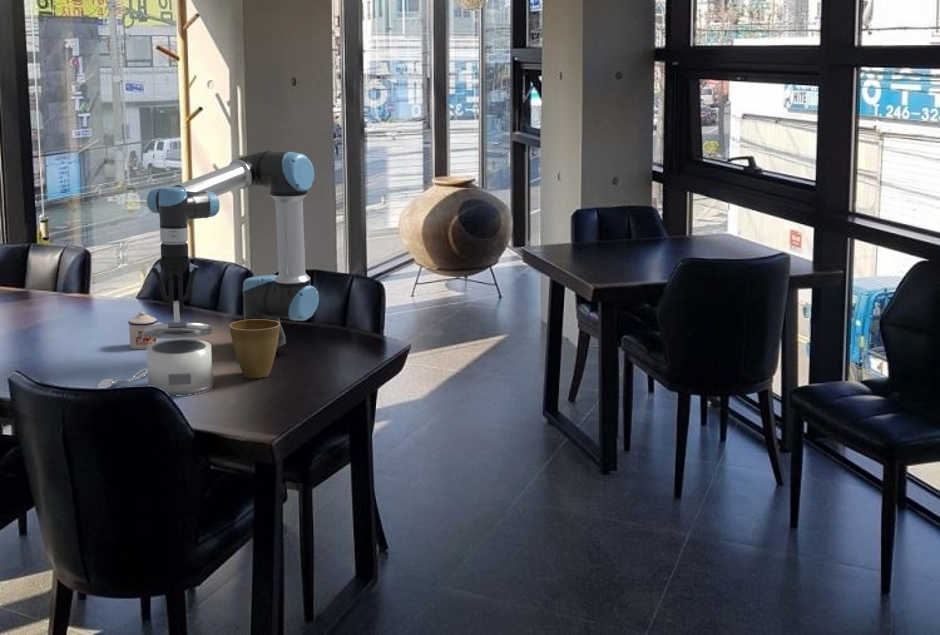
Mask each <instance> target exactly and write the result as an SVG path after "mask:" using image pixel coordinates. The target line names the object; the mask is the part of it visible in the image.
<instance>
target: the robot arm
mask: <svg viewBox="0 0 940 635" xmlns="http://www.w3.org/2000/svg"><path fill="white" fill-rule="evenodd" d="M314 181H315V168H314V166H313V162H311V160H310V159H309V158H308V157H307V156H306V155H305V154H303V153H301V152H300V153H299V152H294V151H278V150H277V151H276V150H260V151H257V152H253V153H249V154H247V155H244V156H241V157H239V158H236V159H233V160H231V161H230V163H229V164H228V165H226V166H223V167H221V168H219V169H215V170H213V171H210V172H208V173H205V174H202V175H200V176H197V177H195V178H192V179H189V180H186V181H184V182H181V183H178V184H175V185H172V186H167V187H166V186H165V187H158V188H157V187H156V188H152V189H151V190H150V191H149V192H148V194H147V197H146V206H147V208H148V210H149V211H150V212H152V213H154V214H159V236H160V238H159V239H160V242H162V243H161V244H160V259H159V262H158V264H157V265H155V266H152V267H151V271H152V273H153V275H155V277H156V281H157V284H158V288H159V291H160V295H161V299H162V300H163V301H165V302H168V303H169V304H168V305H169V306H168V307H169V314H173V322H181V321H180V320H181V318H180V316H181V315H180V314H184V311H185V310H184V302H185V301H188V300H190V298H191V293H192V289H193V284H194V279H195V275H196V274H197V272H198V271H199V266H198V265H194V264H193V263H191V260H190V258H189V243H188V241H189V236H188V235H189V231H188V228H189V227H188V221H190V220H197V219H208V218H213V217H215V216H217V214H219V212H220V207H221V204H220V203H221V202H220V198H219V196H221V195H224V194H227V193H229V192H232V191H235V190H237V189H240V190H245V189H248V188H253V187H257V188H258V187H261V188H269V196H270V197H271V198H272V199H273V200H274V202H275V220H276V238H277V239H276V244H277V245H276V246H277V260H278V261H277V263H278V264H277V266H278V275H277V274H266V275H265V274H264V275H257V276H252V277H248V278H246V279H244V281H243V283H242V284H243V285H242V298H243V299H242V300H243V301H242V304H243V320H251V319H265V320H273V321H277V322H279V323H280V330H279V338H278V344H277V349H278V348H281V346H282V347H283V345H284V344H285V345H286V334H285V333H284V332H285V331H284V329H283V327H282V325H281V320H280V318H281V319H287V320H291V321H300V322H301V321H302V322H303V321H307V320H308V319H310V318H312V316H313V315H314V314H315V312H316V311H317V309H318V306H319V302H320V297H319V292H318V290H317V288H316V287H314V286H313V285H311V283H312V282H311V277H310V275H308V274H307V273H306V250H305V227H304V221H305V220H304V203H303V201H304V199H305V198H306V197H307V195H308V190H309V189H310V188H312V186H313V183H314ZM188 269H189V270H188ZM162 270H163V271H164V273H165V274H166V275H168V279H167V280H168V295H167V292H166V289H165V286H164V285H165V284H164V282H163V278H162V275H161V272H162ZM187 270H188V271H189V273H190V274H189V277H188V282H187V287H186V290H185V291H186V292H185V294H184V286H183V285H184V284H183V280H184V279H183V275H184V274H185V273H186V271H187ZM174 276H177V288H178V289H177V290H178V300H175V299H174ZM285 345H284V346H285Z"/></svg>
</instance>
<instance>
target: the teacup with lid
mask: <svg viewBox="0 0 940 635" xmlns="http://www.w3.org/2000/svg"><path fill="white" fill-rule="evenodd" d="M158 324H163V323H162V322H158V320H157V318H156V317H154V316H151V315H149V314H146V311H139V312H138V314H137V315H136V316H134V317H132V318H130V319H129V320H128V326H129V327H128V329H129V344H130V345H129V346H130V348H131V349H134V350H140V351H141V350H147V347H148V346H149V345H151V344H154V343H157V342H158V338H152V337H147V336H145V335H144V328H146V327H148V326H152V325H158Z"/></svg>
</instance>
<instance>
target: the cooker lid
mask: <svg viewBox="0 0 940 635" xmlns="http://www.w3.org/2000/svg"><path fill="white" fill-rule="evenodd" d="M211 334H213V325H211V324H207V323H203V322H202V323H201V322H187V321H180V322H174V321H172V322H167V323H162V324H158V325H152V326H148V327H146V328H144V335H145V336H147V337H152V338H157V339H168V340H169V339H170V340H173V339H191V338H199V337H204V336H207V335H211Z"/></svg>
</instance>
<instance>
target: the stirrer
mask: <svg viewBox="0 0 940 635" xmlns="http://www.w3.org/2000/svg"><path fill="white" fill-rule="evenodd" d="M147 375H148V367H146V368H142V369H140V370H138V371H137V372H136V373H135V374H134V375H133V376H132V377H130V378H128V379H121V380H120V379H114V378H106V379H102V380H101V381H100V382H99V383H98V385H97V387H109V388H111V387H112V386H114V385H115V384H116V383H118V382H124V383H125V382H127V381H128V382H132V381H134V379H135V380H139V379H142V378H143V377H145V376H147Z"/></svg>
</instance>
